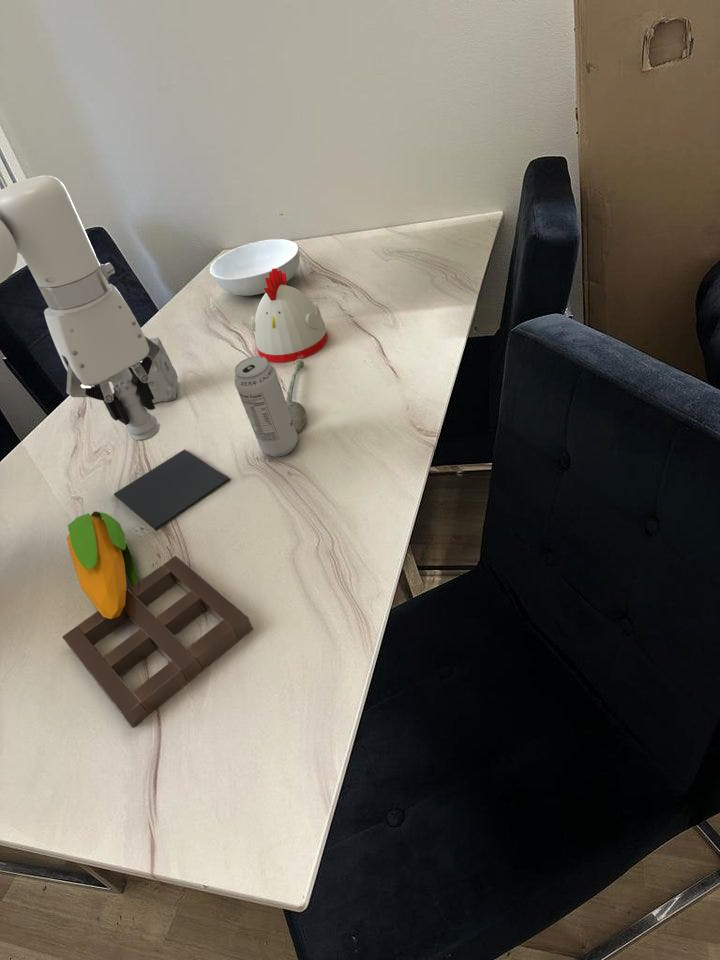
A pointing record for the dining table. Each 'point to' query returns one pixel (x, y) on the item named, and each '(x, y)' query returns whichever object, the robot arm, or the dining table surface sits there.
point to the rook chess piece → (136, 412)
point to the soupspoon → (294, 407)
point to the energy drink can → (265, 406)
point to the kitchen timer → (287, 323)
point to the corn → (102, 561)
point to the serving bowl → (254, 265)
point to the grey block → (156, 376)
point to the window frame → (158, 638)
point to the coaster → (171, 488)
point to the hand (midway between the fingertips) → (135, 412)
